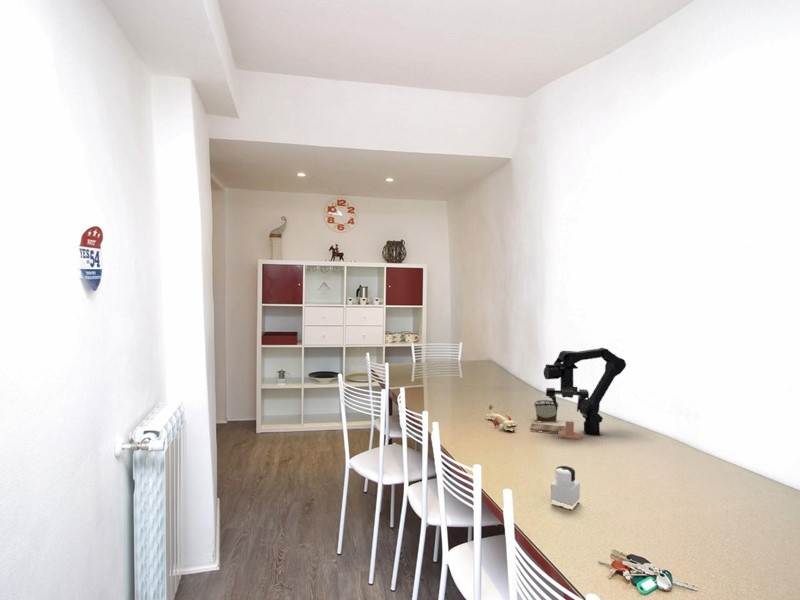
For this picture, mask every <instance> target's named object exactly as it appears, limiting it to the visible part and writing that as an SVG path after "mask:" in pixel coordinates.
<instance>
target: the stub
mask: <svg viewBox="0 0 800 600" xmlns="http://www.w3.org/2000/svg"><path fill="white" fill-rule="evenodd" d="M574 424H575V423H574V421H571V420H570V421H568V420H566V421H565V426H566V431H558V434H557V437H558V438H563V437H565V438H564V439H566V438H567V439H574V440H575V439H576V440H582V432H577V431H575V428H574V427H575V426H574Z"/></svg>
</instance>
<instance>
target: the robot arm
mask: <svg viewBox="0 0 800 600" xmlns="http://www.w3.org/2000/svg"><path fill="white" fill-rule="evenodd" d="M599 358H602V360H603V361H604V362H606V363H605V365H604V372H603V374H602V376H601V378H600V379H599V381H598V383H597V385H596V386H595V388H594V390H593V391H592V393H591V395H590V393H589V391H588V389H582V388H581V389H579V388H578V386H574V370H577V369H578V368H579V367H578V366H577V365H576V364H577V363H579V362H581V361H585V360H593V359H599ZM626 367H627V364H626V360H625V359H624V358H622V357H619V356H617V355H616V354H615V353H613V352H612V351H610V350H609V349H608V348H604V347H599V348H593V349H588V350H580V351H573V350H561V351H560V352H559V353H558V357H557V358H556V360H555V361H554V362H553V364H549V363H548V364H545V367H544V369H543V377H544V379H546V380H559V379H560V382H559V383H560V390H557V389H555V387H547V388H546V389H545V396H546V397H548V398H549V399H551V401H553V402H554V405H555V408H556V411H557V412H558V408H557V403H558V402H557V396H556V395H559V396H560V395H561V396H562V398H571V399H572V398H574V396H577V405H576V412H578V413H580V414H581V416H582V418H584V421H583V432H584V434H585V435H594V436H596V435H597V436H601V429H600V426H601V425H600V423H602V422H603V416H601V415H600V414H599V412H600V408H601V407H600V405H601V401H602V400H603V398H604V396H605V395H606V393H607V391H608V390H609V388H610V386H611V385H612V382H613V381H614V379H615V378H616V377H618V376H619V375H620V374H621V373H623V371H624V370H625V369H626ZM589 395H590V396H589Z"/></svg>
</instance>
